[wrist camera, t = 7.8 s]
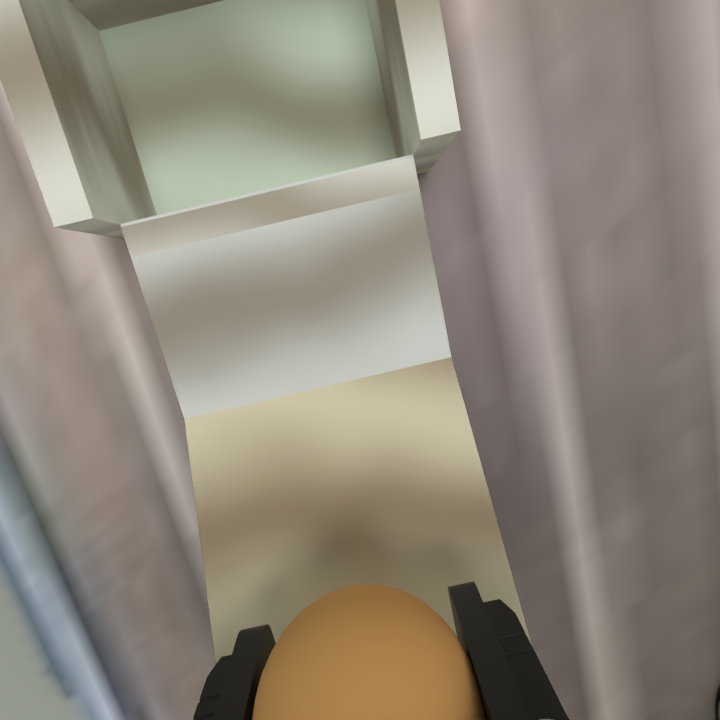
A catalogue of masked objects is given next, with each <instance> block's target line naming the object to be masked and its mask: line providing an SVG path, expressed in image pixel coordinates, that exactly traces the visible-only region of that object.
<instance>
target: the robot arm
mask: <svg viewBox="0 0 720 720" xmlns="http://www.w3.org/2000/svg"><path fill="white" fill-rule="evenodd" d="M448 593H449V598H450V603H451V608H452V613H453V618H454V623H455V628H456V633H457V637H458V639H459V640H460V642H461V644H462V645H463V647H464V649H465V651H466V652H467V654H468V656H469V659H470V662H471V664H472V667H473V670H474V674H475V677H476V681H477V684H478V688H479V692H480V696H481V699H482V703H483V707H484V712H485V716H486V720H569V718H568V717H567V715H566V713H565V711H564V709H563V707H562V705H561V703H560V701H559V699H558V697H557V695H556V693H555V691H554V689H553V687H552V685H551V683H550V681H549V679H548V677H547V675H546V673H545V671H544V669H543V667H542V665H541V663H540V661H539V659H538V657H537V655H536V653H535V652H534V650H533V647H532V645H531V643H530V641H529V639H528V637H527V636H526V634H525V631H524V629H523V627H522V625H521V623H520V621H519V619H518V617H517V615H516V613H515V612H514V611H513V610H512V609H510V608H509V607H508V606H507V605H506V604H505V603H504V602H503V601H502V600H500V599H497V600H492V601H488V602H483V601H482V598H481V596H480V593H479V591H478V589H477V586H476V584H475V582H474V581H473V582H468V583H464V584H459V585H454V586H449V587H448ZM275 644H276V643H275V640H274V636H273V633H272V630H271V628H270V626H269V625H268V624H266V625H261V626H257V627H252V628H247V629H242V630H240V631H239V633H238V636H237V639H236V642H235V646H234V649H233V652H232V655H228V656H223V657H221V658H220V659H219V661H218V662H217V664H216V665H215V667H214V668H213V669H212V671H211V672H210V674H209V675H208V677H207V679H206V682H205V685H204V688H203V691H202V694H201V697H200V703H198V705H197V708H196V711H195V714H194V717H193V718H194V720H252V716H253V709H254V702H255V697H256V693H257V689H258V685H259V682H260V678H261V675H262V672H263V670H264V667H265V665H266V662H267V660H268V658H269V656H270V653H271V651H272V649H273V648H274V646H275ZM718 716H719V720H720V701H719V707H718Z"/></svg>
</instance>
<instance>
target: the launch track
mask: <svg viewBox="0 0 720 720" xmlns="http://www.w3.org/2000/svg"><path fill="white" fill-rule="evenodd" d="M0 79H1V81H2V84H3V87H4V90H5V92H6V95H7V98H8V101H9V103H10V106H11V109H12V112H13V115H14V117H15V120H16V123H17V126H18V128H19V131H20V134H21V137H22V139H23V142H24V145H25V148H26V150H27V153H28V156H29V159H30V161H31V164H32V167H33V170H34V172H35V175H36V178H37V181H38V183H39V186H40V189H41V192H42V195H43V197H44V200H45V203H46V206H47V208H48V211H49V214H50V217H51V219H52V222H53V225H54V227H56V228H62V229H68V230H74V231H80V232H86V233H92V234H98V235H104V236H110V237H116V238H122V239H125V241H126V244H127V247H128V250H129V253H130V256H131V259H132V262H133V265H134V268H135V271H136V274H137V277H138V280H139V283H140V286H141V289H142V292H143V295H144V298H145V301H146V304H147V307H148V310H149V313H150V316H151V319H152V322H153V325H154V328H155V331H156V334H157V337H158V340H159V344H160V347H161V350H162V353H163V356H164V359H165V362H166V365H167V368H168V371H169V374H170V377H171V380H172V383H173V386H174V389H175V392H176V395H177V398H178V401H179V404H180V407H181V410H182V413H183V416H184V419H185V427H186V435H187V442H188V450H189V458H190V466H191V473H192V481H193V489H194V497H195V504H196V512H197V520H198V528H199V535H200V543H201V551H202V559H203V566H204V574H205V582H206V590H207V597H208V605H209V613H210V621H211V628H212V636H213V644H214V652H215V659H216V664H217V662H218V661H219V659H220V658H221V657H223V656H228V655H232V652H233V649H234V646H235V642H236V639H237V636H238V633H239V631H240V630H242V629H247V628H252V627H257V626H261V625H266V624H268V625H269V626H270V628H271V630H272V633H273V636H274V640H275V643H277V641H278V639H279V638H280V636H281V635H282V633H283V631H284V630H285V629H286V628H287V626H288V625H289V624H290V623H291V621H292V620H293V619H294V618H295V617H296V616H297V615H298V614H299V613H300V612H301V611H302V610H303V609H304V608H306V607H307V606H308V605H310V604H311V603H312V602H314V601H315V600H317V599H318V598H320V597H322V596H323V595H325V594H327V593H329V592H331V591H334V590H336V589H339V588H343V587H346V586H351V585H357V584H379V585H385V586H390V587H394V588H397V589H400V590H402V591H404V592H406V593H409V594H411V595H413V596H415V597H416V598H418V599H420V600H421V601H423V602H424V603H426V604H427V605H428V606H429V607H430V608H432V609H433V610H434V611H435V612H436V613H437V614H439V615H440V616H441V617H442V619H443V620H444V621H445V622H446V623H447V624H448V625H449V627H450V628H451V629H452V630H453V632H454V633H455V634H456V636H457V633H456V628H455V623H454V618H453V613H452V608H451V603H450V598H449V593H448V587H449V586H454V585H459V584H464V583H468V582H473V581H474V582H475V584H476V586H477V589H478V591H479V593H480V596H481V598H482V601H483V602H488V601H492V600H497V599H500V600H502V601H503V602H504V603H505V604H506V605H507V606H508V607H509V608H510V609H512V610H513V611H514V612H515V613H516V615H517V617H518V619H519V621H520V623H521V625H522V627H523V629H524V631H525V634H526V636H527V637H528V639H529V641H530V638H529V634H528V630H527V627H526V623H525V620H524V616H523V613H522V609H521V605H520V602H519V598H518V595H517V591H516V587H515V584H514V580H513V577H512V573H511V569H510V566H509V562H508V559H507V555H506V551H505V548H504V544H503V541H502V537H501V534H500V530H499V526H498V523H497V519H496V516H495V512H494V508H493V505H492V501H491V498H490V494H489V490H488V487H487V483H486V480H485V476H484V473H483V469H482V465H481V462H480V458H479V455H478V451H477V447H476V444H475V440H474V437H473V433H472V429H471V426H470V422H469V419H468V415H467V412H466V408H465V404H464V401H463V397H462V394H461V390H460V386H459V383H458V379H457V376H456V372H455V368H454V365H453V361H452V358H451V353H450V347H449V342H448V337H447V331H446V326H445V321H444V316H443V310H442V305H441V300H440V294H439V289H438V284H437V279H436V273H435V268H434V263H433V257H432V252H431V247H430V242H429V236H428V231H427V226H426V220H425V215H424V210H423V205H422V199H421V194H420V188H419V183H418V178H417V174H421V173H425V172H428V171H429V170H430V169H431V168H432V166H433V165H434V164H435V162H436V161H437V160H438V159H439V157H440V156H441V155H442V153H443V152H444V151H445V150H446V148H447V147H448V146H449V145H450V143H451V142H452V141H453V139H454V138H455V137H456V136H457V134H458V133H459V132H460V131H461V129H460V123H459V117H458V111H457V105H456V99H455V93H454V87H453V81H452V75H451V69H450V63H449V56H448V50H447V44H446V38H445V32H444V26H443V20H442V14H441V8H440V2H439V0H0ZM530 643H531V641H530Z"/></svg>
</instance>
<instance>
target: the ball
mask: <svg viewBox="0 0 720 720" xmlns="http://www.w3.org/2000/svg"><path fill="white" fill-rule="evenodd" d="M252 720H486V716H485V712H484V707H483V703H482V699H481V696H480V692H479V688H478V684H477V681H476V677H475V674H474V670H473V667H472V664H471V662H470V659H469V656H468V654H467V652H466V651H465V649H464V647H463V645H462V644H461V642H460V640H459V639H458V637H457V636H456V634H455V633H454V632H453V630H452V629H451V628H450V627H449V625H448V624H447V623H446V622H445V621H444V620H443V619H442V617H441V616H440V615H439V614H437V613H436V612H435V611H434V610H433V609H432V608H430V607H429V606H428V605H427V604H426V603H424V602H423V601H421V600H420V599H418V598H416V597H415V596H413V595H411V594H409V593H406V592H404V591H402V590H400V589H397V588H394V587H390V586H385V585H379V584H357V585H351V586H346V587H343V588H339V589H336V590H334V591H331V592H329V593H327V594H325V595H323V596H322V597H320V598H318V599H317V600H315V601H314V602H312V603H311V604H310V605H308V606H307V607H306V608H304V609H303V610H302V611H301V612H300V613H299V614H298V615H297V616H296V617H295V618H294V619H293V620H292V621H291V623H290V624H289V625H288V626H287V628H286V629H285V630H284V631H283V633H282V635H281V636H280V638H279V639H278V641H277V643H276V644H275V646H274V648H273V649H272V651H271V653H270V656H269V658H268V660H267V662H266V665H265V667H264V670H263V672H262V675H261V678H260V682H259V685H258V689H257V693H256V697H255V702H254V709H253V716H252Z"/></svg>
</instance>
